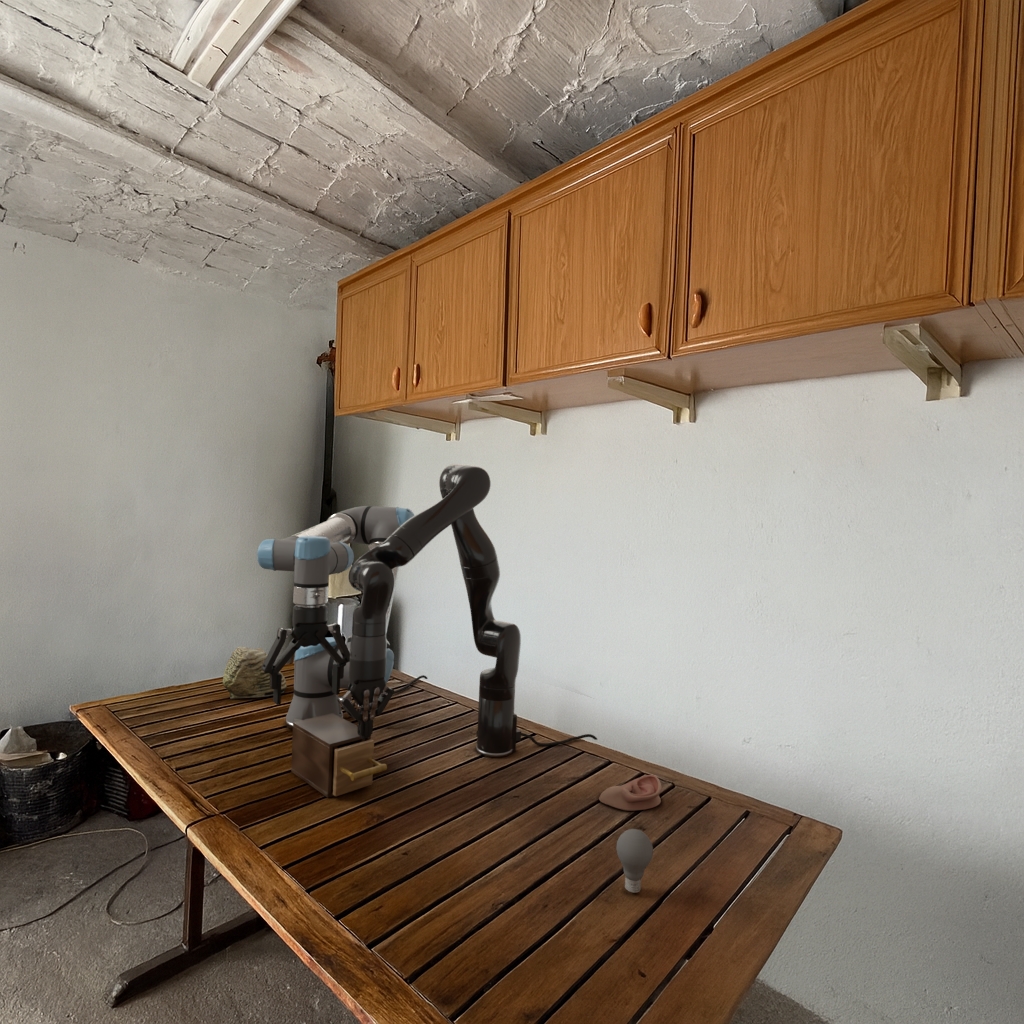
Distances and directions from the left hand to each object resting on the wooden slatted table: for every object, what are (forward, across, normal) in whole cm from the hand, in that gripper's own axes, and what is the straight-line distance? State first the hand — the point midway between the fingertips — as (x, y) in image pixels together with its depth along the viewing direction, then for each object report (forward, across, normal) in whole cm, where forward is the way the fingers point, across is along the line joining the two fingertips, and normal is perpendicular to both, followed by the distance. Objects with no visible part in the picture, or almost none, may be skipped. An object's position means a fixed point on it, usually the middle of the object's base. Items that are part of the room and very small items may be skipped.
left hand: (307, 698), depth 144 cm
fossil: (+18, +8, +63) cm, 66 cm away
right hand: (+4, +6, -18) cm, 20 cm away
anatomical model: (+18, +53, -50) cm, 75 cm away
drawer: (+17, +5, -10) cm, 20 cm away
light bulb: (+18, +28, -72) cm, 80 cm away
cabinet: (+18, +4, -5) cm, 19 cm away
